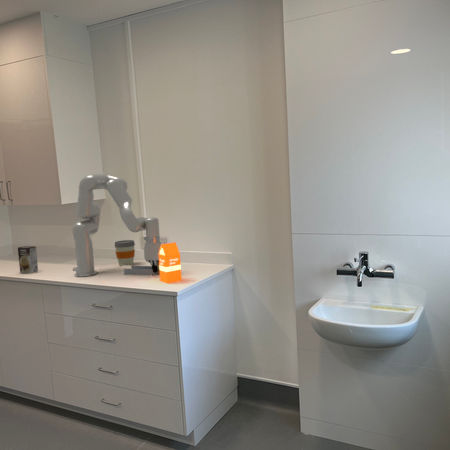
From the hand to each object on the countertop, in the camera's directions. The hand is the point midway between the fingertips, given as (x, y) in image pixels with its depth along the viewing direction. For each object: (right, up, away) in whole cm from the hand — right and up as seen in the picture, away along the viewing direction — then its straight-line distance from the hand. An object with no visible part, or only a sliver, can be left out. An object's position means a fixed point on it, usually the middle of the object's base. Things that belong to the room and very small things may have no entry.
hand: (155, 271), depth 263 cm
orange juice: (+11, -3, -16) cm, 20 cm away
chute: (-8, -2, +3) cm, 9 cm away
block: (+6, -1, -2) cm, 6 cm away
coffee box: (-82, -3, +27) cm, 86 cm away
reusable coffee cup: (-24, +1, +35) cm, 43 cm away
